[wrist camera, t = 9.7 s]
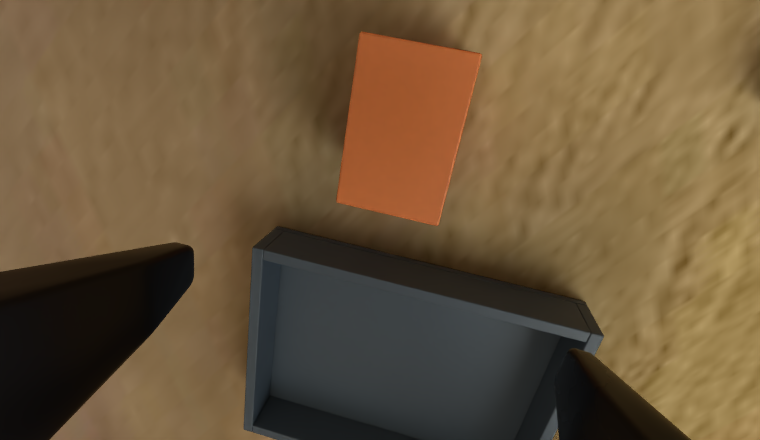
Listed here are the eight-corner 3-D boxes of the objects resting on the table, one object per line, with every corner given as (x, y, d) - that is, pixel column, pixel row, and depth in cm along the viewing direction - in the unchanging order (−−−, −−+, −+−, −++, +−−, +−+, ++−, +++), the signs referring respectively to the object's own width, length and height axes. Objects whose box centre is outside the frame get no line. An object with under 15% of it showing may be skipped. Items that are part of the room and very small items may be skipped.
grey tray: (585, 301, 20) (605, 336, 17) (509, 466, 25) (515, 513, 22) (276, 225, 22) (251, 247, 19) (264, 394, 27) (243, 429, 24)
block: (475, 59, 17) (482, 53, 12) (442, 186, 19) (438, 226, 14) (387, 42, 17) (359, 30, 12) (366, 169, 20) (335, 202, 15)
